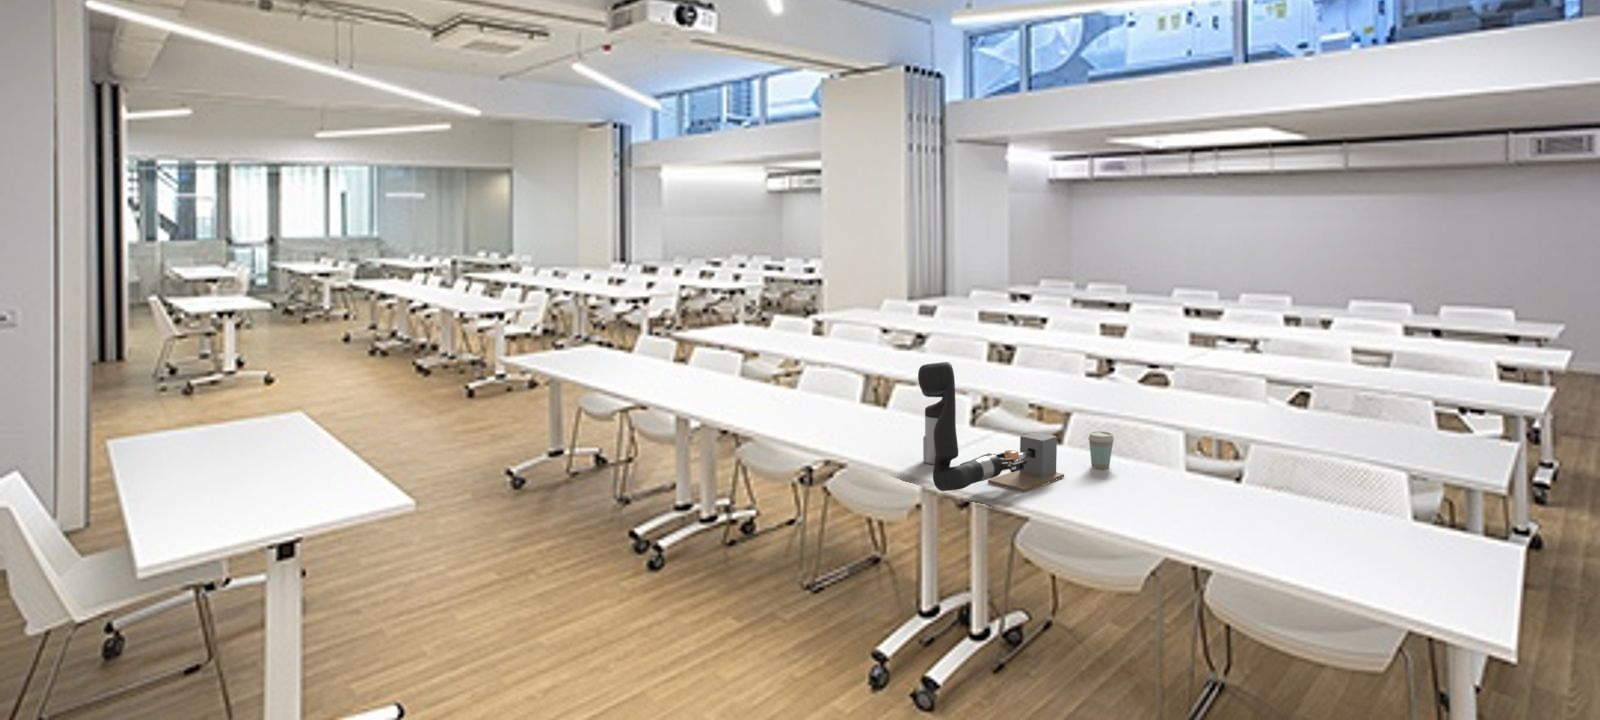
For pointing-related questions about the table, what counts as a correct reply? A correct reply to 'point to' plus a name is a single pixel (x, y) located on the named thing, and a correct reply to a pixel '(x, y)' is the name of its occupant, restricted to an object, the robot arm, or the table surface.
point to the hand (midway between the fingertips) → (1014, 458)
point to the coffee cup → (1100, 449)
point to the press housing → (1033, 464)
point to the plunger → (1016, 456)
